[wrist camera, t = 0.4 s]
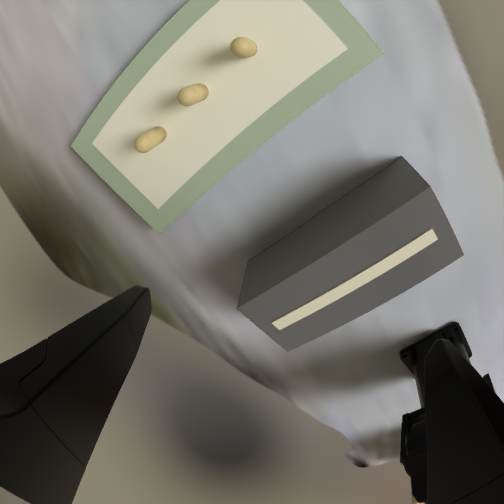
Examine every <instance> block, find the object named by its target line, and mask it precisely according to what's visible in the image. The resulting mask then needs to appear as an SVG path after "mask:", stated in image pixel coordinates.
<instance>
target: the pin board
mask: <svg viewBox="0 0 504 504" xmlns="http://www.w3.org/2000/svg"><path fill="white" fill-rule="evenodd" d="M383 54H384V53H383V52H382V50H381V49H380V48H379V47H378V45H377V44H376V43H375V42H374V40H373V39H372V38H371V37H370V35H369V34H368V33H367V32H366V31H365V29H364V28H363V27H362V26H361V25H360V24H359V23H358V21H357V20H356V19H355V18H354V17H353V16H352V15H351V14H350V12H349V11H348V10H347V9H346V8H345V7H344V6H343V5H342V4H341V3H340V2H339V1H338V0H190V1H189V2H187V3H186V4H185V5H184V6H183V7H182V8H181V9H180V10H179V11H178V12H177V13H176V14H175V15H174V16H173V17H172V18H171V19H170V20H169V21H168V22H167V23H166V24H165V25H164V26H163V27H162V28H161V29H160V30H159V31H158V32H157V33H156V35H155V36H154V37H153V38H152V39H151V40H150V41H149V42H148V43H147V44H146V45H145V47H144V48H143V49H142V50H141V51H140V52H139V53H138V55H137V56H136V57H135V58H134V59H133V60H132V62H131V63H130V64H129V65H128V66H127V68H126V69H125V70H124V71H123V73H122V74H121V75H120V76H119V78H118V79H117V80H116V81H115V83H114V84H113V85H112V87H111V88H110V89H109V91H108V92H107V93H106V95H105V96H104V97H103V99H102V100H101V101H100V103H99V104H98V106H97V107H96V108H95V110H94V111H93V113H92V114H91V116H90V117H89V118H88V120H87V121H86V123H85V124H84V126H83V127H82V129H81V130H80V132H79V134H78V135H77V137H76V138H75V140H74V141H73V143H72V145H71V147H72V148H73V149H74V150H75V151H76V153H77V154H78V155H79V156H80V157H81V158H82V159H83V160H84V161H85V162H86V163H87V164H88V165H89V166H90V167H91V168H92V169H93V170H94V171H95V172H96V173H97V174H98V175H99V176H100V177H101V178H102V179H103V180H104V181H105V182H106V183H107V184H108V185H109V186H110V187H111V188H112V189H113V190H114V191H115V192H116V193H117V194H118V195H119V196H120V197H121V198H122V199H123V200H124V201H125V202H126V203H127V204H128V205H129V206H130V207H131V208H132V209H133V210H134V211H135V212H137V213H138V214H139V215H140V216H141V217H142V218H143V219H144V220H145V221H146V222H147V223H148V224H149V225H150V226H151V227H152V228H153V229H154V230H155V231H156V232H157V233H158V234H160V233H162V232H163V231H164V230H165V229H166V228H167V227H168V226H169V225H170V224H171V223H172V222H173V221H174V220H176V219H177V218H178V217H179V216H180V215H181V214H182V213H183V212H184V211H185V210H186V209H188V208H189V207H190V206H191V205H192V204H193V203H194V202H195V201H196V200H198V199H199V198H200V197H201V196H202V195H203V194H204V193H205V192H207V191H208V190H209V189H210V188H211V187H212V186H213V185H215V184H216V183H217V182H218V181H219V180H220V179H221V178H223V177H224V176H225V175H226V174H227V173H228V172H230V171H231V170H232V169H233V168H234V167H235V166H237V165H238V164H239V163H240V162H241V161H243V160H244V159H245V158H246V157H247V156H249V155H250V154H251V153H252V152H253V151H255V150H256V149H257V148H258V147H259V146H261V145H262V144H263V143H264V142H266V141H267V140H268V139H269V138H271V137H272V136H273V135H274V134H276V133H277V132H278V131H279V130H281V129H282V128H283V127H284V126H286V125H287V124H288V123H289V122H291V121H292V120H293V119H295V118H296V117H297V116H298V115H300V114H301V113H302V112H304V111H305V110H306V109H308V108H309V107H310V106H312V105H313V104H314V103H316V102H317V101H318V100H320V99H321V98H322V97H324V96H325V95H326V94H328V93H329V92H330V91H332V90H333V89H334V88H336V87H337V86H339V85H340V84H341V83H343V82H344V81H345V80H347V79H348V78H350V77H351V76H352V75H354V74H355V73H357V72H358V71H360V70H361V69H362V68H364V67H365V66H367V65H368V64H370V63H371V62H373V61H374V60H376V59H377V58H378V57H380V56H381V55H383Z"/></svg>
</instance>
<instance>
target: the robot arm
mask: <svg viewBox="0 0 504 504" xmlns="http://www.w3.org/2000/svg"><path fill="white" fill-rule="evenodd" d="M151 311H152V306H151V297H150V290H149V288H147V287H144V286H140V285H135V286H133V287H131V288H130V289H128V290H126V291H125V292H123V293H121V294H119V295H118V296H116V297H114V298H113V299H111V300H109V301H107V302H106V303H104V304H102V305H101V306H99V307H97V308H96V309H94V310H92V311H91V312H89V313H87V314H86V315H84V316H82V317H81V318H79V319H77V320H76V321H74V322H72V323H71V324H69V325H67V326H66V327H64V328H62V329H61V330H59V331H58V332H56V333H54V334H52V335H51V336H49V337H48V339H44V340H42V341H41V342H39V343H38V344H36V345H34V346H33V347H31V348H29V349H27V350H26V351H24V352H22V353H20V354H18V355H16V356H14V357H13V358H11V359H9V360H7V361H5V362H3V363H1V364H0V504H72V502H73V499H74V497H75V494H76V491H77V489H78V486H79V484H80V481H81V479H82V476H83V474H84V472H85V469H86V466H87V464H88V461H89V459H90V457H91V454H92V452H93V450H94V447H95V445H96V443H97V440H98V438H99V436H100V433H101V431H102V429H103V427H104V424H105V422H106V420H107V418H108V415H109V413H110V411H111V409H112V406H113V404H114V402H115V400H116V398H117V395H118V393H119V391H120V389H121V387H122V385H123V383H124V381H125V378H126V376H127V374H128V372H129V370H130V368H131V366H132V364H133V362H134V359H135V357H136V354H137V352H138V349H139V346H140V343H141V340H142V337H143V335H144V332H145V329H146V326H147V324H148V321H149V318H150V315H151ZM399 355H400V359H401V360H402V361H403V362H404V363H405V365H406V366H407V367H408V368H409V370H410V371H411V372H412V373H413V375H414V376H415V380H416V385H417V390H418V394H419V399H420V405H421V409H418V410H416V411H414V412H411V413H407V414H404V415H403V417H402V428H401V451H400V463H401V464H402V465H404V468H405V470H406V472H407V474H408V475H409V476H410V477H411V486H412V495H413V497H414V498H415V499H416V500H417V502H418V503H423V502H424V503H425V504H504V403H503V402H502V400H501V399H500V398H499V397H498V396H497V394H496V393H495V390H494V387H493V384H492V382H491V379H490V376H489V373H488V374H486V375H484V376H483V378H482V377H481V375H480V374H479V373H478V372H477V371H476V370H475V368H474V367H473V366H472V365H471V362H470V360H469V358H470V357H471V356H472V352H471V350H470V347H469V345H468V342H467V340H466V338H465V336H464V333H463V331H462V329H461V327H460V324H459V323H458V322H455V323H453V324H451V325H449V326H448V327H446V328H444V329H442V330H440V331H439V332H437V333H435V334H433V335H431V336H429V337H428V338H426V339H424V340H422V341H420V342H418V343H416V344H414V345H412V346H410V347H408V348H406V349H404V350H402V351H401V352H400V354H399Z"/></svg>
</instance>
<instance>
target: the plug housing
mask: <svg viewBox="0 0 504 504" xmlns="http://www.w3.org/2000/svg"><path fill="white" fill-rule="evenodd" d="M463 255H464V254H463V252H462V249H461V247H460V245H459V243H458V241H457V238H456V236H455V234H454V232H453V230H452V228H451V225H450V223H449V221H448V219H447V217H446V215H445V213H444V211H443V209H442V207H441V205H440V203H439V202H438V200H437V198H436V196H435V194H434V192H433V190H432V188H431V187H430V185H429V184H428V183H427V182H426V181H425V180H424V179H423V178H422V177H421V176H420V174H419V173H418V172H417V171H416V170H415V169H414V168H413V167H412V166H411V165H410V164H409V163H408V162H407V161H406V160H405V159H404V158H403V157H400V158H399V159H397V160H396V161H394V162H393V163H392V164H390V165H389V166H387V167H386V168H384V169H383V170H381V171H380V172H379V173H377V174H376V175H374V176H373V177H371V178H370V179H368V180H367V181H365V182H364V183H363V184H361V185H360V186H358V187H357V188H355V189H354V190H352V191H351V192H349V193H348V194H346V195H345V196H344V197H342V198H341V199H339V200H338V201H336V202H335V203H333V204H332V205H330V206H329V207H328V208H326V209H325V210H323V211H322V212H320V213H319V214H317V215H316V216H314V217H313V218H311V219H310V220H309V221H307V222H306V223H304V224H303V225H301V226H300V227H298V228H297V229H295V230H294V231H292V232H291V233H289V234H288V235H287V236H285V237H284V238H282V239H281V240H279V241H278V242H276V243H275V244H273V245H272V246H270V247H269V248H267V249H266V250H264V251H263V252H262V253H260V254H259V255H257V256H256V257H254V258H253V259H251V260H250V261H248V264H247V268H246V273H245V277H244V281H243V285H242V289H241V293H240V297H239V301H238V305H237V309H238V310H239V311H240V312H241V313H242V314H243V315H245V316H246V317H247V318H248V319H249V320H250V321H252V322H253V323H254V324H255V325H256V326H257V327H259V328H260V329H261V330H262V331H263V332H265V333H266V334H267V335H268V336H269V337H270V338H272V339H273V340H274V341H275V342H276V343H278V344H279V345H280V346H281V347H282V348H284V349H285V350H286V351H287V352H288V351H290V350H292V349H295V348H297V347H299V346H301V345H303V344H305V343H307V342H310V341H312V340H314V339H316V338H318V337H320V336H322V335H324V334H326V333H328V332H330V331H332V330H334V329H336V328H338V327H340V326H342V325H344V324H346V323H348V322H350V321H352V320H354V319H356V318H358V317H359V316H361V315H363V314H365V313H367V312H369V311H371V310H373V309H374V308H376V307H378V306H380V305H382V304H383V303H385V302H387V301H389V300H391V299H392V298H394V297H396V296H398V295H399V294H401V293H403V292H405V291H406V290H408V289H410V288H412V287H413V286H415V285H417V284H418V283H420V282H422V281H423V280H425V279H427V278H428V277H430V276H431V275H433V274H435V273H436V272H438V271H440V270H441V269H443V268H444V267H446V266H447V265H449V264H451V263H452V262H454V261H455V260H457V259H458V258H460V257H461V256H463Z"/></svg>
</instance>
